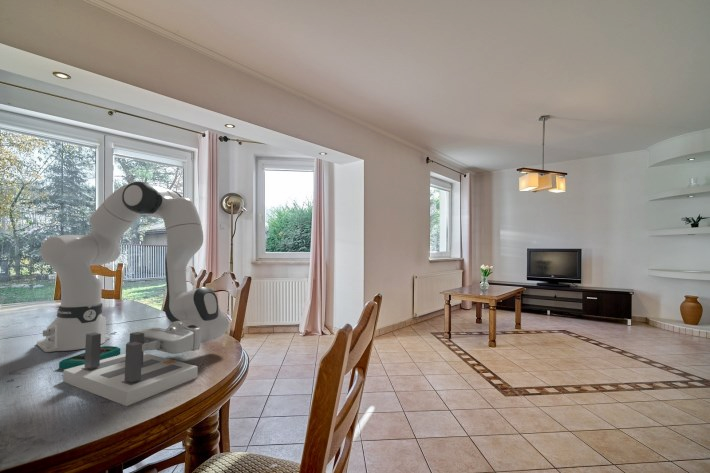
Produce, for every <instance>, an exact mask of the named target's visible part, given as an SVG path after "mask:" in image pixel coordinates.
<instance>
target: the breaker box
mask: <svg viewBox="0 0 710 473" xmlns="http://www.w3.org/2000/svg"><path fill="white" fill-rule="evenodd" d="M125 357H126V352H125V353H122V354H119V355H117V356H114V357H110V358H106V359H103V360H100V366H99V367H96V368H92V369H89V368H86V367H85V364H84V365H80V366H76V367H73V368H69V369H63V372H62V377H63V378H62V382H63V383H65V384H68V385H71V386H74V387H76V388H78V389H81V390H83V391H86V392H88V393H91V394H94V395H96V396H100V397H103V398H105V399H106V400H110V401H112V402H115V403H118V404H120V405H123V406H125V407H127V406H131V405H133V404H135V403H138V402H140V401H143V400H145V399H147V398H150V397H152V396H155V395H157V394H160V393H162V392H165V391H168V390H169V389H172V388H175V387H178V386H180V385H183V384H185V383H187V382H190V381H192V380H195V379H197V378H198V369H199V368H198V366H197V365H195V364H194V365H192V364H190V363H186V362H182V361H178V360H174V359H170V358H166V357H162V356H158V355H156V354H155V355H154V354H150V353H146V352H143V365H142V366H141V380H138V381H135V382H129V381H126V380H125Z"/></svg>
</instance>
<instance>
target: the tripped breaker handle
mask: <svg viewBox="0 0 710 473" xmlns="http://www.w3.org/2000/svg"><path fill="white" fill-rule="evenodd" d="M133 332H134V331H133ZM128 342H129V343H132V342H138V343H144V333H141V332H134V333H132V332H130V333H129V341H128ZM143 353H145V351H142V361H141V366H142V365H143Z"/></svg>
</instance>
